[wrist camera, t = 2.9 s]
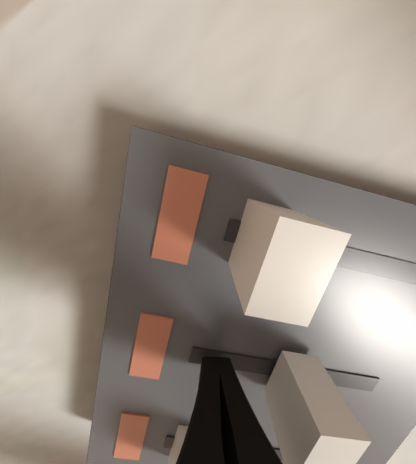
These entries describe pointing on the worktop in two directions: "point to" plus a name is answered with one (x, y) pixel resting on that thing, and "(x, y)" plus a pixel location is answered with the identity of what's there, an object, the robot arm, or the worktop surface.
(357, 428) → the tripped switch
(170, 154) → the switch panel
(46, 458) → the worktop surface
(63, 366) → the worktop surface
